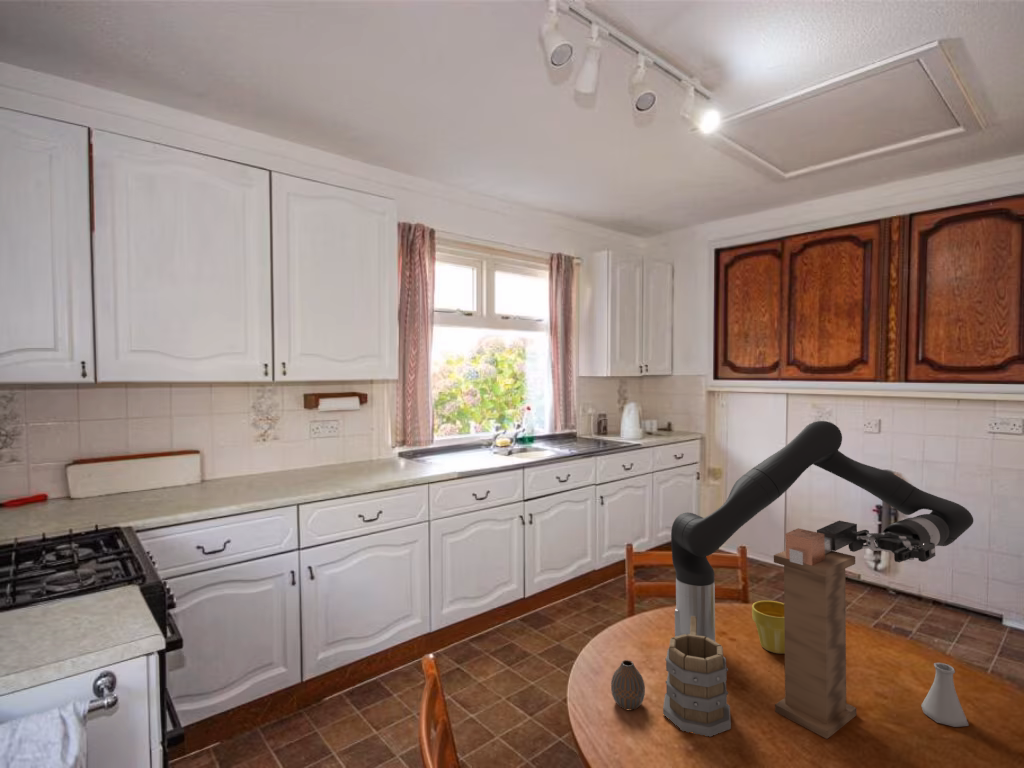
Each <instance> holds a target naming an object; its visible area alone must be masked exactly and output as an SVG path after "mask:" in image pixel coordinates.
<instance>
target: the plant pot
mask: <svg viewBox="0 0 1024 768" xmlns="http://www.w3.org/2000/svg"><path fill="white" fill-rule="evenodd" d="M751 615H752V616H751V617H752V620H753V622H754V623H755V626H756V630H757V633H758V634H757V635H758V638H759V643H760V645H761V647H762V648H763V649H764V650H766V651H768V652H769V653H770V652H771V653H772V654H773V653H774V654H780V655H781V654H784V655H785V627H784V602H780V601H776V600H775V601H774V600H758V601H756V602H754V603H753V604H752V605H751Z"/></svg>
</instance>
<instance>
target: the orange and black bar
mask: <svg viewBox="0 0 1024 768" xmlns="http://www.w3.org/2000/svg"><path fill="white" fill-rule="evenodd" d="M857 532H858V524H857V523H853V522H850V521H849V522H848V521H843V520H837V521H835V522H833V523H830V524H828V525H825V526H823V527H820V528H819V529H816V531H811V530H807V529H803V528H796V529H793V530H790V531H789V532H786V533H784V534H785V535H784V536H785V551H786V559H790V562H793V563H797V564H801V565H804V564H808V565H812V566H813V565H815V564H817V563H819V562H821V561H823V560H824V559H825V554H826V553H828V552H830V551H835V552H837V551H838V550H840V549H843V548H844V547H847V546H849V544H850V543H852V542H854V541H856V540H857Z"/></svg>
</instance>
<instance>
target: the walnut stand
mask: <svg viewBox="0 0 1024 768" xmlns="http://www.w3.org/2000/svg"><path fill="white" fill-rule="evenodd" d="M773 563H774V564H778V565H781V566H783V590H784V591H783V592H784V593H783V596H784V597H783V599H784V601H783V603H784V627H785V653H784V695H785V696H784V698H782V699H781V700H779V701H778V702H777V703H775V704H774V712H775V713H777V714H779V715H780V716H781V717H784V718H786V719H788V720H790V721H792V722H794V723H796V724H798V725H799V726H802V727H803V728H805V729H806V730H809V731H810V732H813V733H815V734H816V735H818V736H820V737H822V738H824V739H826V740H828V739H829V738H830V737H832V736H833V735H834V734H836V733H837V732H838V731H839V730H840V729H842V727H844V726H845V725H847V723H849V722H850V721H851V720H852V719H854V718H855V717H856V716H857V707H855V706H854V705H851V704H850V703H847V648H846V647H847V644H846V643H847V639H846V637H847V636H846V635H847V633H846V631H847V630H846V629H847V628H846V627H847V625H846V621H847V620H846V619H847V618H846V615H847V613H846V612H847V611H846V608H847V607H846V606H847V605H846V602H847V601H846V569H848V568H850V567H852V566H854V565H856V556H854V555H851V554H847V553H843V552H840V551H833V550H832V551H830V552H828V553H826V554H825V559H824V560H823V561H821V562H819V563H817V564H815V565H813V566H812V565H808V564H804V565H801V564H797V563H793V562H790V559H786V550H783V551H782V552H778V553H775V554H773Z"/></svg>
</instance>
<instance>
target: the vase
mask: <svg viewBox="0 0 1024 768" xmlns="http://www.w3.org/2000/svg"><path fill="white" fill-rule="evenodd" d="M610 684H611V685H610V686H611V687H610V688H611V689H610V690H611V695H612V698H613V700H614V702H615V703H616V705H618V706H619V707H620V708H621V707H622V708H621V709H623V708H625V709H624V710H626V709H634V710H637V708H640V706H641V705H642V703H643V701H644V698H645V693H646V686H645V682H644V679H643V676H642V674H641V673H640V671H639V670H638V669H637V667H636V665H635V664H634V662H633V661H631V660H628V659H624V660H622V661H621V663H620V665H619V667H618V668H617V669H615V671H614V673H613V675H612V677H611V682H610Z"/></svg>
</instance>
